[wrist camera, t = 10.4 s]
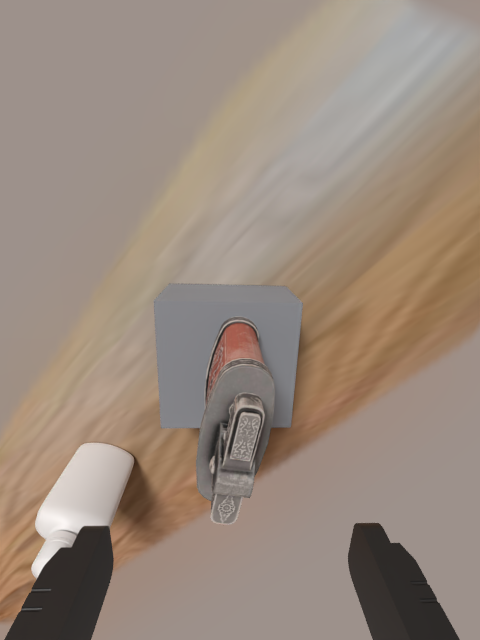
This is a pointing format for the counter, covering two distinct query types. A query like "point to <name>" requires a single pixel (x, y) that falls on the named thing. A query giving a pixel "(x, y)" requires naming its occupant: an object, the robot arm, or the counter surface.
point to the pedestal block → (199, 336)
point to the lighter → (234, 419)
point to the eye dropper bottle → (82, 497)
